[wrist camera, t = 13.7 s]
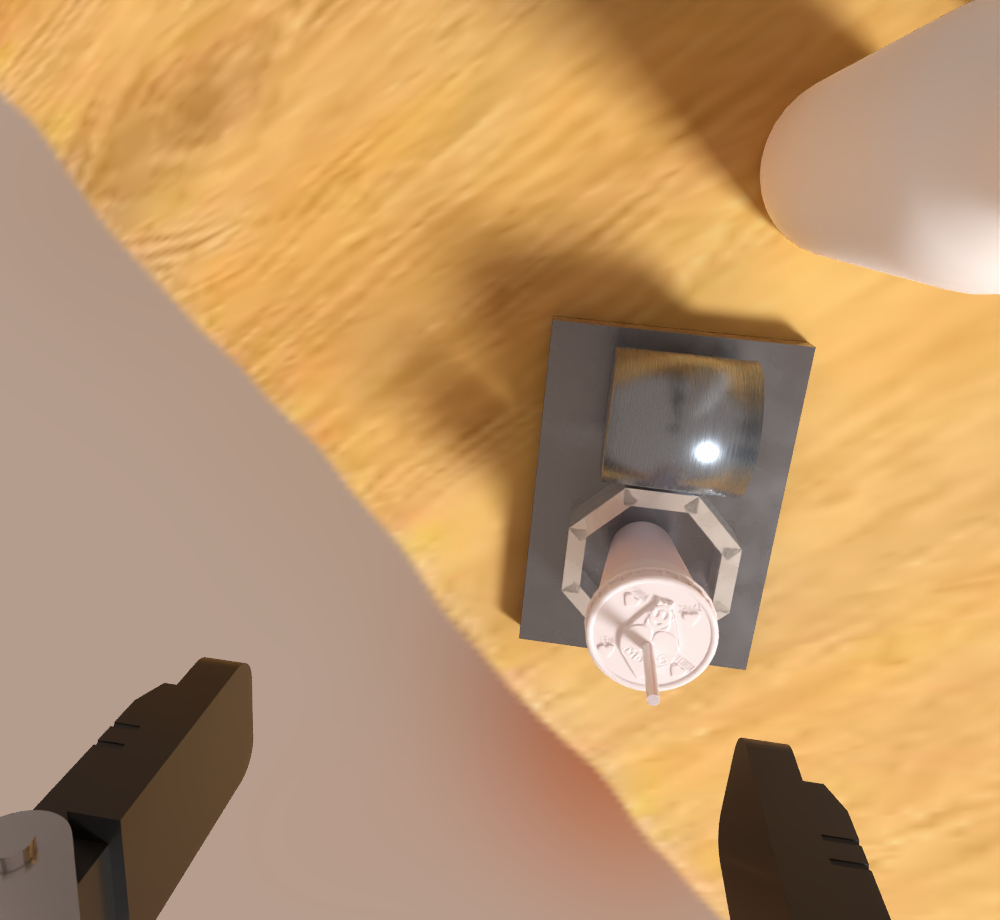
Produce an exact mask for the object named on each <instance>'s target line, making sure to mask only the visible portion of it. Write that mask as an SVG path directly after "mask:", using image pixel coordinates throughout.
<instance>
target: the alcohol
mask: <svg viewBox="0 0 1000 920" xmlns="http://www.w3.org/2000/svg"><path fill="white" fill-rule="evenodd" d="M760 185H761V194H762V198H763V201H764V204H765V207H766V210H767V213H768V214H769V216H770V218H771V220H772V221H773V223H774V225H775V226H776V227H777V229H778V230H779V231H780V232H781V233H782V234H783V235H784V236H785V237H786V238H787V239H788V240H790V241H791V242H792V243H794V244H795V245H797V246H798V247H799V248H802V249H804V250H806V251H809V252H811V253H814V254H816V255H820V256H824V257H828V258H831V259H835V260H839V261H842V262H846V263H850V264H853V265H857V266H861V267H865V268H868V269H872V270H876V271H879V272H883V273H887V274H890V275H894V276H898V277H902V278H905V279H909V280H913V281H916V282H920V283H924V284H927V285H931V286H935V287H939V288H942V289H947V290H952V291H957V292H962V293H967V294H1000V0H974V1H972V2H969V3H967V4H965V5H963V6H960V7H958V8H957V9H955V10H953V11H951V12H949V13H947V14H945V15H943V16H942V17H940V18H938V19H936V20H934V21H932V22H930V23H928V24H926V25H925V26H923V27H921V28H919V29H917V30H915V31H913V32H911V33H910V34H908V35H906V36H904V37H902V38H900V39H898V40H896V41H895V42H893V43H891V44H889V45H887V46H885V47H883V48H881V49H879V50H878V51H876V52H874V53H872V54H870V55H868V56H866V57H864V58H863V59H861V60H859V61H857V62H855V63H853V64H851V65H849V66H847V67H846V68H844V69H842V70H840V71H838V72H836V73H834V74H832V75H831V76H829V77H827V78H825V79H823V80H821V81H819V82H817V83H816V84H814V85H813V86H811V87H810V88H808V89H807V90H806V91H804V92H803V93H801V94H800V95H799V96H798V97H797V98H796V99H795V100H794V101H793V102H792V103H791V104H790V105H789V106H788V107H787V108H786V109H785V110H784V112H783V113H782V114H781V116H780V117H779V119H778V120H777V121H776V123H775V124H774V126H773V128H772V131H771V133H770V135H769V137H768V139H767V141H766V144H765V148H764V151H763V155H762V159H761V168H760Z"/></svg>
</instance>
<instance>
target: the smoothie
mask: <svg viewBox="0 0 1000 920" xmlns="http://www.w3.org/2000/svg"><path fill="white" fill-rule="evenodd" d="M584 625H585V637H586V644H587V647H588V651H589V653H590V655H591V657H592V659H593V661H594V662H595V664H596V665H597V666H598V667H599V669H600V670H601V671H602V672H603V673H604V674H606V675H607V676H608V677H609V678H611V679H612V680H614V681H615V682H617V683H619V684H621V685H623V686H626V687H629V688H632V689H636V690H641V691H646V696H647V702H648V704H650V705H652V706H655V705H658V704H659V702H660V695H659V691H664V690H670V689H674V688H677V687H680V686H682V685H684V684H687V683H688V682H690V681H692V680H693V679H695V678H696V677H697V676H699V675H700V674H701V673H702V672H703V671H704V670H705V669H706V668H707V666H708V665H709V664H710V662H711V660H712V659H713V657H714V655H715V652H716V649H717V645H718V639H719V629H718V623H717V613H716V611H715V608H714V605H713V603H712V600H711V599H710V597H709V596H708V595H707V593H706V592H705V591H704V589H703V588H702V587H701V586H700V585H699V584H697V583H696V582H695V581H693V579H692V577H691V575H690V573H689V571H688V570H687V568H686V566H685V564H684V562H683V560H682V558H681V557H680V555H679V553H678V551H677V549H676V547H675V546H674V544H673V542H672V540H671V538H670V536H669V535H668V533H667V532H666V531H665V530H664V529H663V528H661V527H660V526H658V525H656V524H653V523H650V522H643V521H640V522H633V523H630V524H627V525H625V526H624V527H622V528H621V529H620V530H619V531H618V532H617V533H616V534H615V535H614V537H613V539H612V542H611V545H610V549H609V552H608V556H607V560H606V563H605V567H604V571H603V574H602V578H601V582H600V585H599V589H598V590H597V591H596V592H595V593H594V595H593V597H592V599H591V600H590V602H589V604H588V606H587V610H586V615H585V621H584Z"/></svg>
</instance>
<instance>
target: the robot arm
mask: <svg viewBox="0 0 1000 920" xmlns="http://www.w3.org/2000/svg"><path fill="white" fill-rule="evenodd" d="M252 716H253V714H252V676H251V669H250V667H249V665H248V664H246V663H240V662H232V661H226V660H219V659H213V658H206V657H204V658H201V659H200V660H198V661H197V663H196V664H195V665H194V666H193V667H192V668H191V669H190V670H189V672H188V673H187V674H186V675H185V676H184V677H183V679H182V680H181V681H180V682H179V683H178V684H177V685H174V684H167V683H164V684H162V685H160V686H159V687H157V688H155V689H153V690H152V691H150V692H148V693H146V694H145V695H143V696H141V697H140V698H138V699H136V700H135V701H134V702H133V703H132V704H131V705H130V706H129V707H128V708H127V709H126V710H125V711H124V712H123V713H122V715H121V716H120V717H119V718H118V719H117V720H116V721H115V724H114V726H113V727H112V726H110V728H109V729H108V730H107V731H106V732H105V733H104V734H103V735H102V736H101V737H100V738H99V739H98V743H97V745H93V746H92V747H91V748H90V749H89V750H88V751H87V752H86V753H85V754H84V756H83V757H82V758H81V759H80V760H79V761H78V762H77V763H76V764H75V765H74V766H73V767H72V769H70V771H69V772H68V773H67V774H66V775H65V776H64V777H63V778H62V779H61V780H60V781H59V783H58V784H57V785H56V786H55V787H54V788H53V789H52V790H51V791H50V792H49V793H48V794H47V795H46V796H45V797H44V799H43V800H42V801H41V802H40V803H39V804H38V805H37V806H36V807H35V808H34V809H33V810H29V811H20V812H16V813H11V814H8V815H5V816H2V817H0V920H156V918H157V917H158V915H159V913H160V912H161V910H162V909H163V907H164V906H165V904H166V902H167V901H168V899H169V897H170V896H171V894H172V893H173V891H174V889H175V888H176V886H177V884H178V883H179V881H180V880H181V878H182V876H183V875H184V873H185V871H186V870H187V868H188V867H189V865H190V863H191V862H192V860H193V859H194V857H195V855H196V854H197V852H198V851H199V849H200V847H201V846H202V844H203V842H204V841H205V839H206V837H207V836H208V834H209V833H210V831H211V830H212V828H213V826H214V824H215V823H216V821H217V820H218V818H219V816H220V815H221V813H222V812H223V810H224V808H225V807H226V805H227V804H228V802H229V800H230V799H231V797H232V796H233V794H234V792H235V791H236V789H237V787H238V786H239V784H240V783H241V781H242V779H243V777H244V775H245V773H246V770H247V768H248V765H249V761H250V757H251V753H252V747H253V717H252ZM718 845H719V858H720V864H721V869H722V875H723V881H724V886H725V892H726V898H727V903H728V909H729V915H730V920H891V919H890V916H889V914H888V911H887V909H886V906H885V904H884V901H883V899H882V896H881V894H880V891H879V889H878V886H877V884H876V881H875V879H874V876H873V874H872V871H870V870H869V864H868V861H867V859H866V856H865V854H864V851H863V849H862V846H859V839H858V836H857V834H856V831H855V829H854V826H853V824H852V821H851V819H850V816H849V814H848V811H847V810H846V809H845V808H844V807H843V806H842V804H841V803H840V802H839V801H838V800H837V799H836V798H835V796H834V795H833V794H832V793H831V792H830V791H829V790H828V789H827V787H826V786H825V785H824V784H819V783H813V782H806V781H803V780H802V777H801V774H800V771H799V769H798V766H797V763H796V760H795V757H794V754H793V751H792V749H791V747H790V746H789V745H787V744H780V743H773V742H767V741H760V740H753V739H746V738H739V740H738V741H737V744H736V746H735V750H734V755H733V759H732V764H731V769H730V773H729V778H728V782H727V787H726V791H725V796H724V801H723V805H722V810H721V815H720V821H719V835H718Z"/></svg>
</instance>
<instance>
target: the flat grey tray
mask: <svg viewBox="0 0 1000 920" xmlns="http://www.w3.org/2000/svg"><path fill="white" fill-rule="evenodd" d="M814 352H815V346H813V345H812V344H810V343H809V342H801V341H791V340H782V339H772V338H762V337H752V336H743V335H733V334H723V333H713V332H704V331H694V330H684V329H674V328H665V327H655V326H645V325H635V324H626V323H616V322H606V321H596V320H587V319H577V318H567V317H557V316H554V318H553V321H552V330H551V340H550V349H549V359H548V368H547V378H546V388H545V397H544V407H543V416H542V426H541V435H540V445H539V454H538V464H537V473H536V483H535V492H534V502H533V511H532V521H531V530H530V540H529V549H528V559H527V568H526V578H525V587H524V597H523V606H522V616H521V625H520V635H519V638H520V639H527V640H535V641H542V642H549V643H556V644H563V645H570V646H578V647H585V648H588V647H587V644H586V637H585V625H584V621H585V615H586V610H587V606H588V604H589V602H590V600H591V599H592V597H593V595H594V593H595V592H596V591H597V590H598V589H599V585H600V582H601V578H602V574H603V571H604V567H605V563H606V560H607V556H608V552H609V549H610V545H611V542H612V539H613V537H614V535H615V534H616V533H617V532H618V531H619V530H620V529H621V528H622V527H624V526H625V525H627V524H630V523H633V522H640V521H643V522H650V523H653V524H656V525H658V526H660V527H661V528H663V529H664V530H665V531H666V532H667V533H668V535H669V536H670V538H671V540H672V542H673V544H674V546H675V547H676V549H677V551H678V553H679V555H680V557H681V558H682V560H683V562H684V564H685V566H686V568H687V570H688V571H689V573H690V575H691V577H692V579H693V581H695V582H696V583H697V584H699V585H700V586H701V587H702V588H703V589H704V591H705V592H706V593H707V595H708V596H709V597H710V599H711V600H712V603H713V605H714V608H715V611H716V613H717V623H718V629H719V639H718V645H717V649H716V652H715V655H714V657H713V659H712V660H711V662H710V664H709V665H714V666H721V667H728V668H735V669H742V670H746V666H747V662H748V657H749V652H750V648H751V643H752V639H753V634H754V629H755V625H756V620H757V615H758V611H759V606H760V602H761V597H762V592H763V588H764V583H765V578H766V574H767V569H768V565H769V560H770V555H771V551H772V546H773V541H774V537H775V532H776V528H777V523H778V518H779V514H780V509H781V504H782V500H783V495H784V491H785V486H786V481H787V477H788V472H789V467H790V463H791V458H792V454H793V449H794V444H795V440H796V435H797V430H798V426H799V421H800V417H801V412H802V407H803V403H804V398H805V394H806V389H807V384H808V380H809V375H810V370H811V366H812V361H813V357H814Z"/></svg>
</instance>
